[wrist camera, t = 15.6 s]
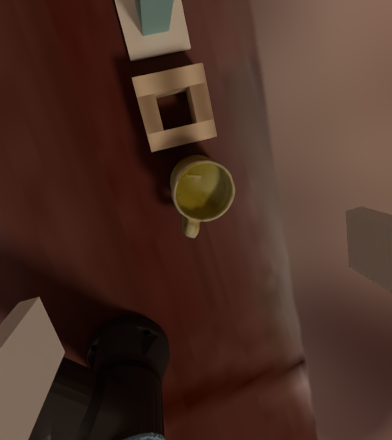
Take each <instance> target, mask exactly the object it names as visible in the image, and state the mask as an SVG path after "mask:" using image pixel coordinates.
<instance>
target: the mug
mask: <svg viewBox="0 0 392 440" xmlns="http://www.w3.org/2000/svg"><path fill="white" fill-rule="evenodd" d="M170 186H171V195H172V200H173V202H174V204H175V207H176V208H177V210H178V211H179V212H180V213H181V214H182V215H183V217H182V231H183V233H184V234H185V235H186V236H188V237H191V238H195V237H196V236H197V234H198V232H199V229H200V222H201V221H211V220H214V219H216V218H218V217H220V216H221V215H223V214H224V213H225V212H226V211H227V210H228V208H229V207H230V206H231V204H232V202H233V199H234V196H235V186H234V182H233V179H232V176H231V174H230V173H229V171H228V170H227V169H226V168H225V167H224V166H223V165H222V164H221V163H219V162H218V161H216V160H214V159H211V158H208V157H206V156H202V155H191V156H188V157H185V158H183V159H182V160H181V161H180V162H179V163H178V164H177V165H176V166H175V168H174V169H173V171H172V174H171V179H170Z"/></svg>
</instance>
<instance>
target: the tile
mask: <svg viewBox="0 0 392 440" xmlns="http://www.w3.org/2000/svg"><path fill="white" fill-rule="evenodd" d="M115 4H116V8H117V11H118V15H119V19H120V23H121V26H122V30H123V34H124V38H125V41H126V45H127V49H128V53H129V56H130V60H131V61H136V60H141V59H145V58H150V57H155V56H160V55H165V54H170V53H174V52H179V51H184V50H189V49H190V48H191V47H190V42H189V37H188V32H187V27H186V22H185V17H184V12H183V7H182V2H181V0H174V2H173V8H172V15H171V21H170V28H169V31H167V32H162V33H157V34H152V35H147V36H143V34H142V30H141V26H140V22H139V18H138V14H137V10H136V6H135V0H115Z"/></svg>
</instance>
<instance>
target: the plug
mask: <svg viewBox="0 0 392 440" xmlns="http://www.w3.org/2000/svg"><path fill="white" fill-rule="evenodd" d="M173 2H174V0H135V6H136V10H137V14H138V18H139V22H140V26H141V30H142V34H143V36H147V35H152V34H157V33H162V32H167V31H169V28H170V21H171V15H172V8H173Z"/></svg>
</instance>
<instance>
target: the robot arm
mask: <svg viewBox="0 0 392 440" xmlns="http://www.w3.org/2000/svg"><path fill="white" fill-rule="evenodd" d="M346 221H347V222H346V223H347V240H348V253H349V254H348V255H349V267H350V268H352V269H354V270H355V271H357V272H359V273H360V274H362V275H364V276H365V277H367V278H369V279H370V280H372V281H374V282H375V283H377V284H379V285H380V286H382V287H383V288H385V289H387V290H388V291H390V292H392V215H390V214H386V213H382V212H379V211H376V210H372V209H368V208H365V207H358V208H355V209H351V210H347V211H346ZM64 353H65V351H64V349H63V347H62V345H61V342H60V340H59V338H58V336H57V334H56V332H55V330H54V327H53V325H52V323H51V321H50V319H49V317H48V315H47V312H46V310H45V308H44V306H43V304H42V302H41V300H40V297H36V298H33V299H29V300H26V301H22V302H19V303H18V304H17V305H16V307H15V308H14V309H13V310H12V311H11V312H10V314H9V315H8V316H7V317H6V318H5V319H4V321H3V322H2V323H1V324H0V440H165V438H164V420H163V403H162V380H163V377H164V374H165V371H166V368H167V365H168V362H169V354H170V353H169V342H168V338H167V336H166V334H165V332H164V331H163V330H162V328H161V327H160V326H158V325H157V324H156V323H154V322H152V321H150V320H148V319H145V318H141V317H122V318H118V319H115V320H113V321H110V322H108V323H107V324H105V325H104V326H102V327H101V328H100V329H99V330H98V331H97V332H96V333H95V335H94V336H93V338H92V340H91V342H90V345H89V348H88V352H87V357H86V364H87V367H85V366H83V365H81V364H78V363H76V362H74V361H72V360H70V359H67V358H65V357H63V356H64Z"/></svg>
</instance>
